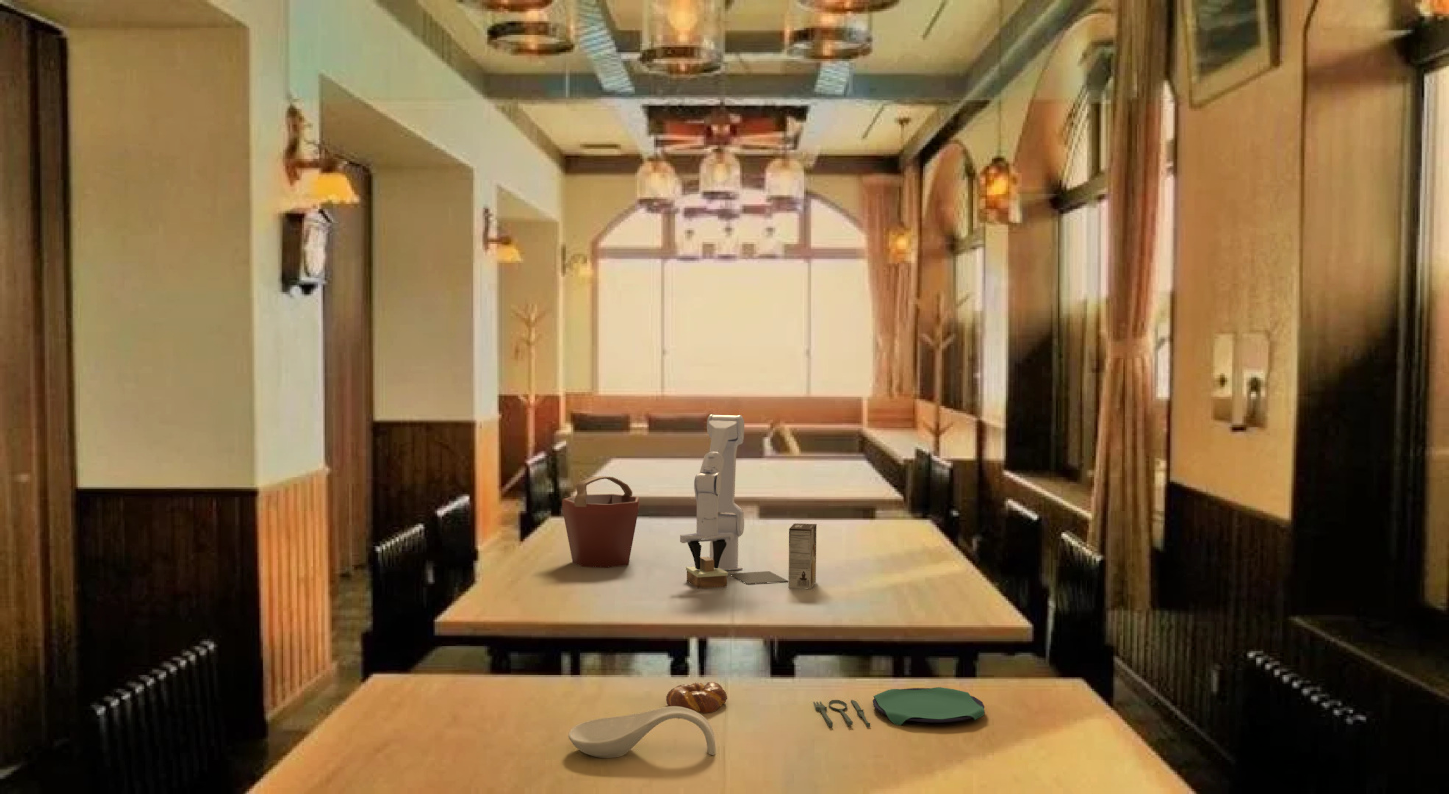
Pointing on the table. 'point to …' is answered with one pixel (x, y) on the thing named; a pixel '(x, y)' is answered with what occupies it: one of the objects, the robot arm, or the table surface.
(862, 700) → the table surface
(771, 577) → the mat
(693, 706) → the pretzel
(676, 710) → the spoon rest
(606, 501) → the bucket
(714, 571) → the lid
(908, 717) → the cutlery set
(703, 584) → the box
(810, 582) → the coffee box
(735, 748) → the table surface
